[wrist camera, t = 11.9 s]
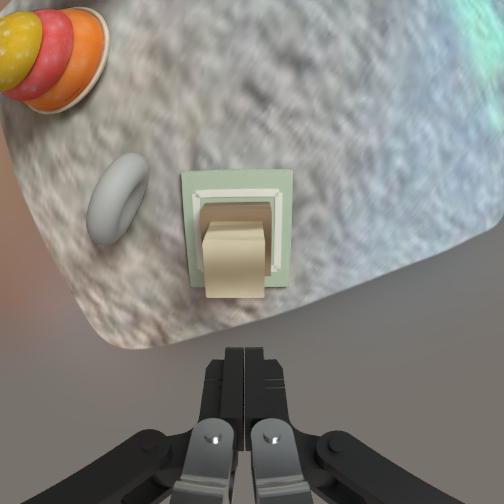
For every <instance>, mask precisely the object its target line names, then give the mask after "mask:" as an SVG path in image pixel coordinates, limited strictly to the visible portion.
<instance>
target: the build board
mask: <svg viewBox="0 0 504 504" xmlns="http://www.w3.org/2000/svg"><path fill="white" fill-rule="evenodd" d="M181 179H182V195H183V209H184V223H185V235H186V246H187V256H188V267H189V276H190V285H191V287H205V277H204V267H203V254H202V240H201V226H200V211H201V209H202V207H203V206H204V204H205V203H216V202H270V206H271V210H272V245H271V276H265V281H264V287H289V272H290V250H291V223H292V186H293V170H292V169H233V170H202V171H183V172H181Z"/></svg>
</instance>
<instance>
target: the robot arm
mask: <svg viewBox="0 0 504 504" xmlns="http://www.w3.org/2000/svg"><path fill="white" fill-rule="evenodd" d="M245 445H246V446H245V447H246V451H251V473H252V482H253V491H254V499H255V504H314V503H313V499H312V494H311V490H312V491H313V492H314V493H315V494H317V495H318V496H319V497H321V498H322V499H323V500H325V501H326V502H327V503H328V504H465V503H463V502H461V501H459V500H457V499H455V498H453V497H451V496H449V495H448V494H446V493H444V492H442V491H440V490H438V489H437V488H435V487H433V486H431V485H430V484H427V483H426V482H424V481H423V480H421V479H419V478H417V477H416V476H414V475H412V474H411V473H409V472H407V471H406V470H404V469H403V468H401V467H399V466H398V465H396V464H394V463H393V462H391V461H390V460H388V459H386V458H385V457H383V456H381V455H380V454H379V453H377V452H376V451H374V450H373V449H371V448H370V447H368V446H366V445H365V444H364V443H362V442H361V441H359V440H358V439H356V438H355V437H353V436H352V435H350V434H349V433H347V432H343V431H330V432H327V433H326V434H324V435H322V436H321V437H320V436H315V435H309V434H305V433H302V432H300V431H298V430H297V429H295V428H294V427H293V426H292V424H291V423H290V421H289V416H288V409H287V400H286V392H285V384H284V377H283V368H282V367H281V365H280V364H279V363H278V361H277V360H276V359H274V360H264V357H263V347H245ZM238 451H244V348H241V347H235V348H233V347H226V350H225V360H212V361H211V363H210V364H209V365H208V367H207V368H206V373H205V381H204V389H203V394H202V402H201V409H200V416H199V420H198V423H197V424H196V425H195V426H194V428H192V429H191V430H189V431H188V432H185V433H182V434H178V435H173V436H165V435H164V434H163V433H162V432H160V431H157V430H153V429H147V430H142V431H140V432H138V433H136V434H135V435H133V436H132V437H130V438H129V439H127V440H126V441H124V442H123V443H121V444H120V445H118V446H117V447H115V448H114V449H113V450H111V451H109V452H108V453H106V454H105V455H103V456H102V457H100V458H98V459H97V460H95V461H94V462H92V463H91V464H89V465H87V466H86V467H84V468H83V469H81V470H79V471H78V472H76V473H74V474H73V475H71V476H69V477H68V478H66V479H64V480H63V481H61V482H59V483H57V484H56V485H54V486H52V487H50V488H49V489H47V490H45V491H44V492H41V493H40V494H38V495H36V496H34V497H32V498H30V499H29V500H27V501H25V502H23V503H21V504H159V503H160V502H162V501H163V500H164V499H166V498H167V497H168V496H169V495H171V494H172V495H171V499H170V503H169V504H233V497H234V488H235V480H236V471H237V466H238Z"/></svg>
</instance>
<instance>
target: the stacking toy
mask: <svg viewBox="0 0 504 504" xmlns="http://www.w3.org/2000/svg"><path fill="white" fill-rule="evenodd" d="M109 48H110V35H109V30H108V27H107V24H106V22H105V20H104V19H103V17H102V16H101V15H100V14H99V13H98V12H96V11H95V10H93V9H90V8H87V7H71V8H67V9H61V10H54V9H40V10H35V11H32V12H27V11H20V12H14V13H11V14H9V15H6V16H4V17H3V18H1V19H0V92H2V93H3V94H4V95H6V96H7V97H9V98H12V99H14V100H19V101H22V102H24V103H25V104H27V105H28V106H29V107H30V108H31V109H32V110H34V111H36V112H38V113H41V114H56V113H60V112H62V111H65V110H67V109H69V108H71V107H72V106H74V105H75V104H77V103H78V102H79V101H81V100H82V99H83V98H84V97H85V96H86V95H87V94H88V93H89V92H90V90H91V89H92V88H93V87H94V85H95V84H96V82H97V81H98V79H99V77H100V76H101V74H102V72H103V70H104V67H105V65H106V62H107V58H108V54H109Z"/></svg>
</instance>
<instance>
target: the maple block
mask: <svg viewBox="0 0 504 504" xmlns="http://www.w3.org/2000/svg"><path fill="white" fill-rule="evenodd" d="M202 249H203V264H204V277H205V290H206V298H264V281H265V238H264V231H263V224H262V221H217V222H211V223H210V225H209V228H208V230H207V232H206V235H205V238H204V240H203V243H202Z"/></svg>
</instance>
